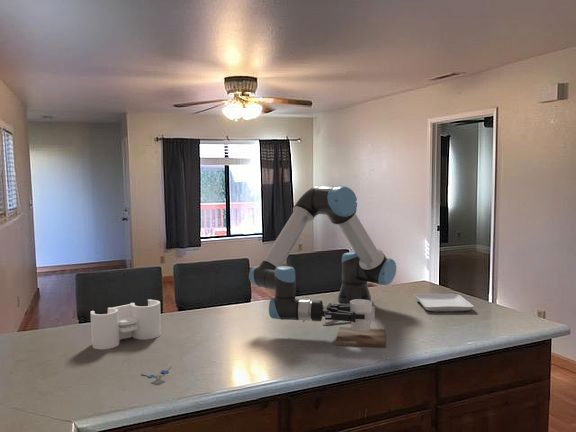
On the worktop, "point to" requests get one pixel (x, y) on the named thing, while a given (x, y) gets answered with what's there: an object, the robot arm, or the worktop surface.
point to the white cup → (360, 306)
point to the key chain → (158, 381)
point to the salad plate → (443, 302)
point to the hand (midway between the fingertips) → (374, 313)
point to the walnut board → (361, 337)
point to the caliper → (330, 322)
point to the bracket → (125, 324)
